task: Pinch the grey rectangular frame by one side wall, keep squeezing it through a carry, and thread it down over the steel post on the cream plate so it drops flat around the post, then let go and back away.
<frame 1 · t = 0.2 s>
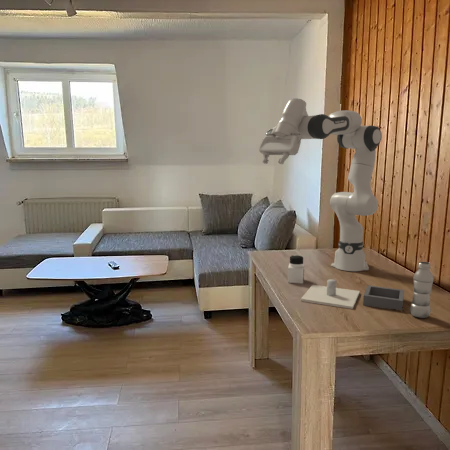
hand: (272, 163, 170), 54 cm above the table, tool tilted 30°, fingers open, 8 cm apart
grey rectangular frame: (383, 302, 162), on the table
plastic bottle: (419, 317, 148), on the table
medicine bottle: (295, 281, 189), on the table
post stand: (331, 297, 168), on the table
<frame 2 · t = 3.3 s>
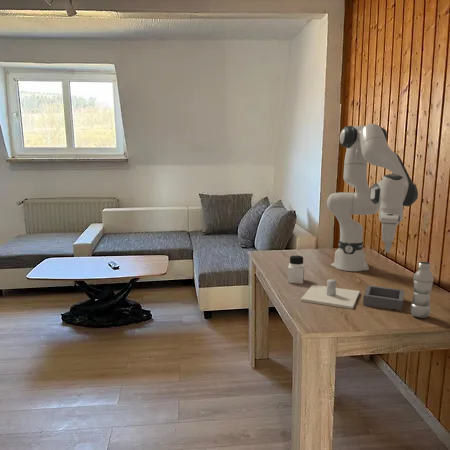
hand: (388, 249, 164), 20 cm above the table, tool pointing down, fingers open, 8 cm apart
nothing on the table moved.
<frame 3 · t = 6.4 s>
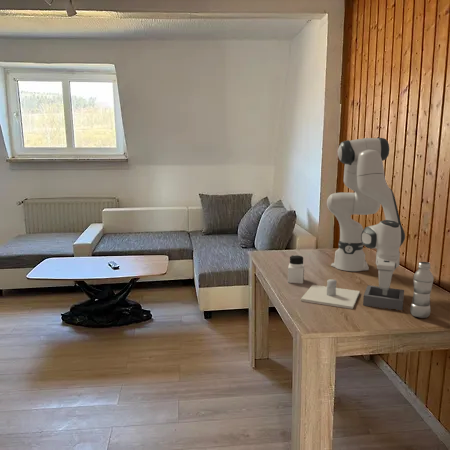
hand: (385, 293, 167), 2 cm above the table, tool pointing down, fingers closed on grey rectangular frame
grey rectangular frame: (383, 302, 162), on the table, touching gripper
everything else where it was.
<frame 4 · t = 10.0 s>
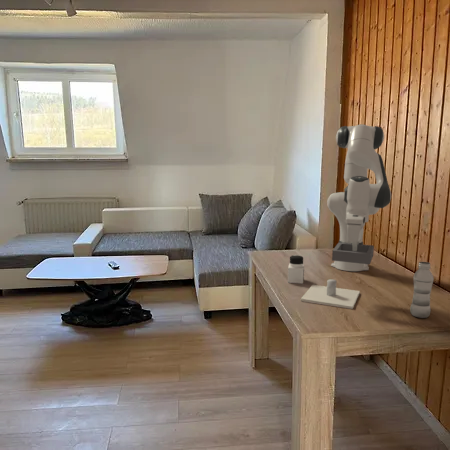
hand: (355, 250, 168), 19 cm above the table, tool pointing down, fingers closed on grey rectangular frame
grey rectangular frame: (353, 257, 163), point 17 cm above the table, touching gripper
everything else where it was.
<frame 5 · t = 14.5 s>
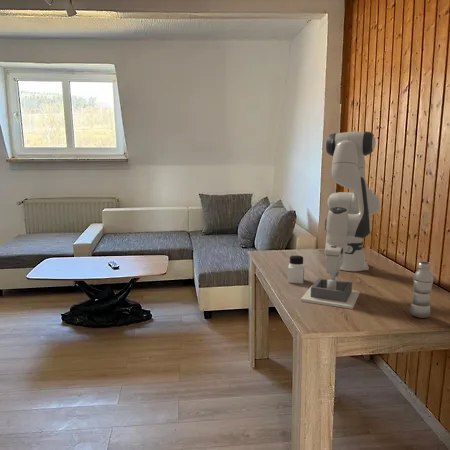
hand: (334, 278, 173), 6 cm above the table, tool pointing down, fingers open, 6 cm apart
grey rectangular frame: (331, 294, 168), point 1 cm above the table, touching post stand
everything else where it was.
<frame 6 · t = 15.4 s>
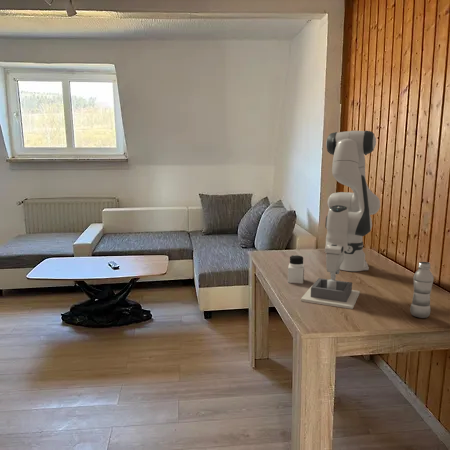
hand: (335, 276, 173), 7 cm above the table, tool pointing down, fingers open, 7 cm apart
nothing on the table moved.
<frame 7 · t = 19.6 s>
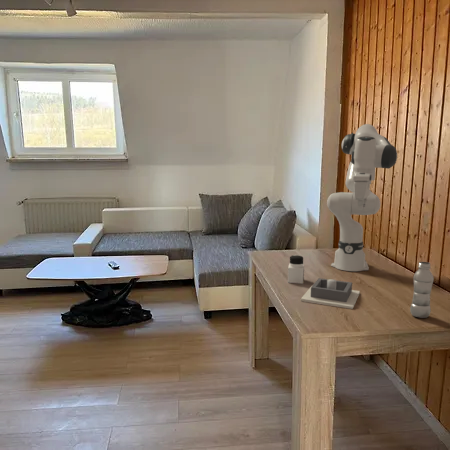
hand: (361, 208, 174), 35 cm above the table, tool pointing down, fingers open, 8 cm apart
nothing on the table moved.
at the end: grey rectangular frame inside the target area on the post stand (0.7 cm from its centre), point 1.0 cm above the post stand's base; grey rectangular frame tilted 0°; the gripper is holding nothing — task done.
